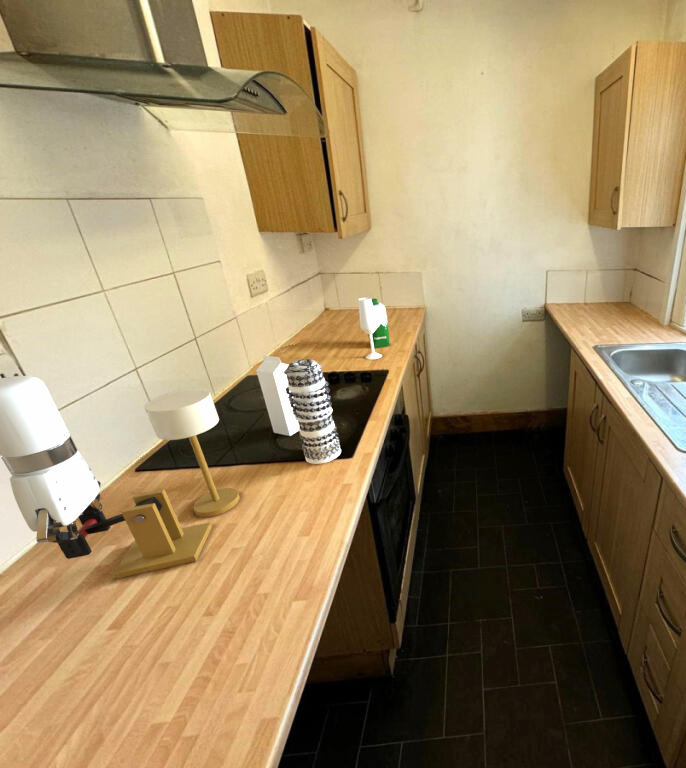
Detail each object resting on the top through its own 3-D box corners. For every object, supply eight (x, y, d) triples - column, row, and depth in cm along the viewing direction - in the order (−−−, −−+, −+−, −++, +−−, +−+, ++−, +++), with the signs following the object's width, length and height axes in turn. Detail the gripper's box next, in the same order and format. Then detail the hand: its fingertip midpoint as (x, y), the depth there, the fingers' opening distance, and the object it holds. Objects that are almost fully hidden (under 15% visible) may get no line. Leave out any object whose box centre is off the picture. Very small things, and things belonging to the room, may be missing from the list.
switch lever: (75, 548, 69) (65, 538, 68) (92, 528, 73) (82, 518, 72) (154, 519, 71) (145, 509, 70) (166, 501, 76) (157, 491, 75)
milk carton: (387, 340, 192) (381, 297, 183) (392, 346, 184) (386, 301, 176) (367, 343, 188) (360, 299, 180) (372, 349, 180) (365, 303, 172)
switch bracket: (115, 579, 71) (85, 525, 66) (139, 541, 79) (114, 491, 74) (196, 561, 75) (174, 509, 70) (212, 526, 82) (193, 478, 78)
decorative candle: (335, 464, 101) (313, 369, 91) (297, 465, 101) (271, 370, 91) (348, 444, 110) (329, 355, 100) (312, 445, 110) (291, 356, 100)
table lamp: (181, 525, 83) (133, 415, 73) (198, 494, 92) (158, 392, 81) (238, 514, 86) (200, 406, 76) (249, 485, 94) (216, 385, 84)
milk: (290, 436, 114) (269, 361, 105) (273, 432, 116) (252, 359, 107) (307, 425, 119) (289, 353, 110) (290, 422, 121) (271, 351, 112)
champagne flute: (367, 360, 168) (357, 301, 158) (364, 355, 173) (354, 298, 164) (383, 357, 171) (375, 299, 161) (380, 352, 176) (371, 296, 167)
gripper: (47, 432, 71) (91, 515, 78) (-36, 492, 56) (27, 588, 63) (101, 425, 73) (139, 507, 80) (35, 481, 58) (88, 576, 66)
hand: (89, 542), depth 72 cm, fingers closed on switch lever, 5 cm apart
